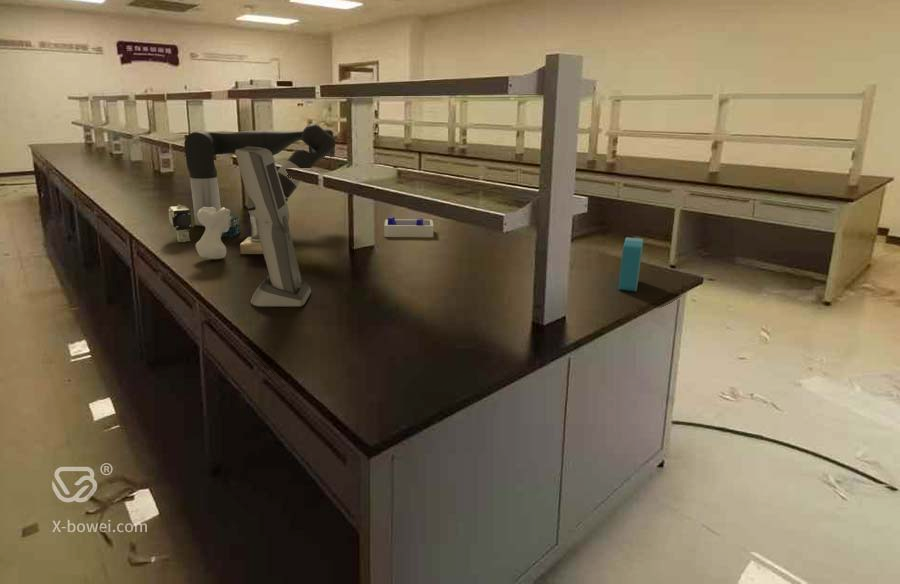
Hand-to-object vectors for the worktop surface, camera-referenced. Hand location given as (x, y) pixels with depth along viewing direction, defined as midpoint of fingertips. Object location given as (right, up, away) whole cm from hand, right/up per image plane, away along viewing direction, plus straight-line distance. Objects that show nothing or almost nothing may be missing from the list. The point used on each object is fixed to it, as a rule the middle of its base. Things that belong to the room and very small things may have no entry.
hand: (254, 219), depth 177 cm
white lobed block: (-8, -12, -7) cm, 17 cm away
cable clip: (+44, -2, +29) cm, 53 cm away
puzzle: (-17, -3, +23) cm, 28 cm away
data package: (+107, -21, -23) cm, 112 cm away
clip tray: (+45, -1, +30) cm, 54 cm away
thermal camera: (+20, -24, -39) cm, 50 cm away
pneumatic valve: (-28, -6, +12) cm, 31 cm away
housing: (+1, -6, +3) cm, 7 cm away
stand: (+1, -9, +4) cm, 10 cm away
